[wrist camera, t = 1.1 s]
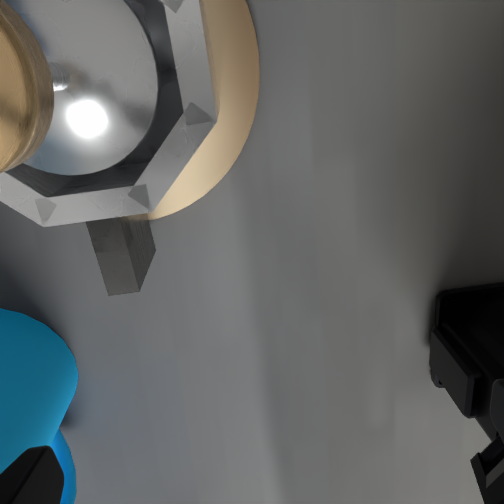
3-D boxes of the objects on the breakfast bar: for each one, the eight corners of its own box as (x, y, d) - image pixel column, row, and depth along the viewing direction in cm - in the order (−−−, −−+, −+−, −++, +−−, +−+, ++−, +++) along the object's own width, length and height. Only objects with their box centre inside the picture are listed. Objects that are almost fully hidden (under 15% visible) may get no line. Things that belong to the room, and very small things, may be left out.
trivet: (236, -147, 15) (236, -154, 14) (273, 200, 20) (274, 203, 20) (-123, -97, 15) (-134, -102, 14) (9, 236, 20) (4, 240, 20)
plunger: (136, -50, 12) (20, -199, 5) (177, 157, 14) (133, 233, 8) (-69, -21, 12) (-442, -135, 5) (7, 180, 14) (-183, 276, 8)
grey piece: (192, -79, 15) (176, -143, 11) (238, 234, 20) (241, 282, 16) (-56, -44, 15) (-179, -93, 11) (52, 259, 20) (1, 315, 16)
